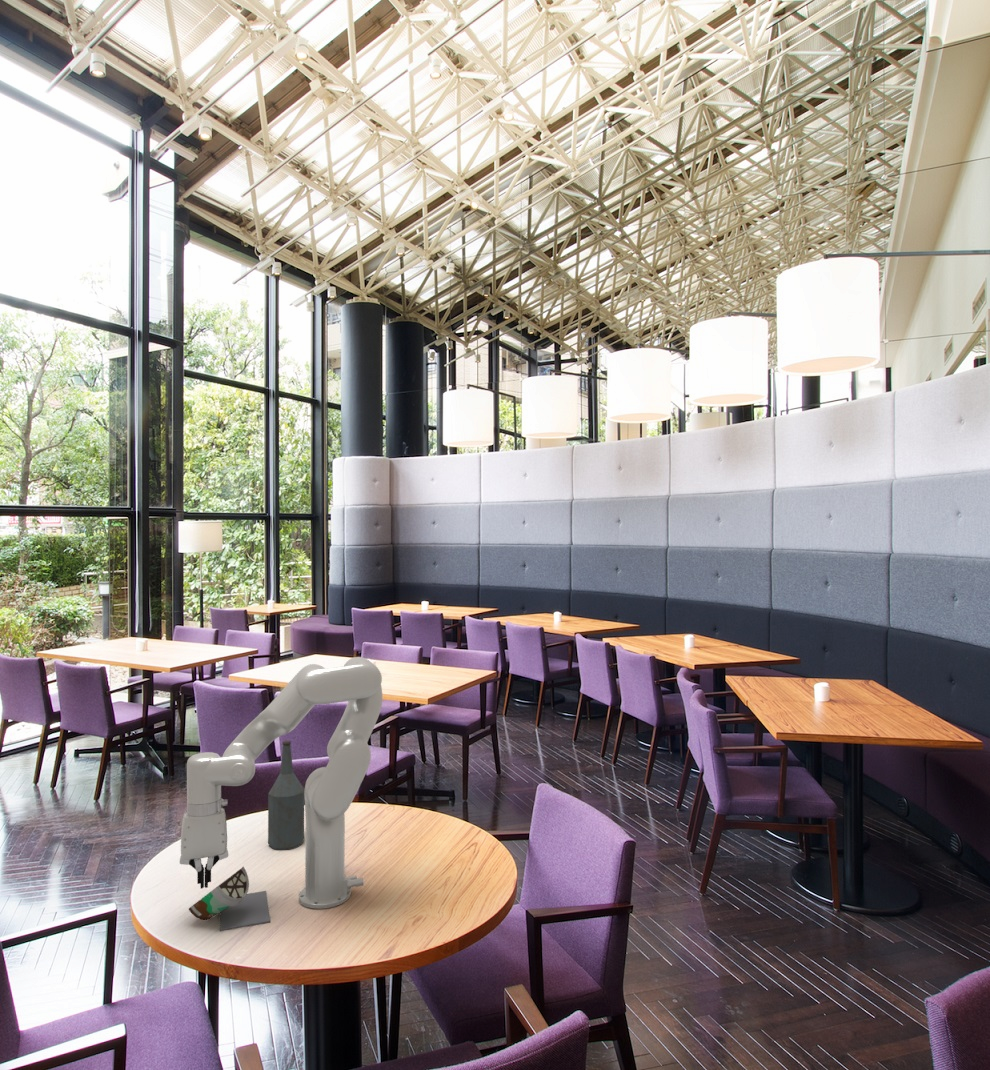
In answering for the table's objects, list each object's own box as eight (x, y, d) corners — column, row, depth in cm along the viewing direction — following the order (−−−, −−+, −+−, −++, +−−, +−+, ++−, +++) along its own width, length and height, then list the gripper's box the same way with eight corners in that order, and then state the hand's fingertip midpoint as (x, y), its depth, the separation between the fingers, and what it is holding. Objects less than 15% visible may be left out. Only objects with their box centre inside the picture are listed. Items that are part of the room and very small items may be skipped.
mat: (266, 892, 185) (266, 890, 185) (270, 922, 170) (270, 920, 170) (219, 899, 181) (219, 898, 181) (219, 931, 166) (219, 929, 166)
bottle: (262, 842, 216) (263, 740, 217) (293, 834, 223) (293, 734, 223) (278, 853, 208) (279, 747, 209) (309, 844, 215) (310, 741, 215)
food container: (199, 935, 165) (232, 910, 164) (184, 911, 166) (217, 886, 165) (227, 910, 178) (258, 887, 177) (213, 889, 178) (244, 865, 178)
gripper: (237, 798, 179) (237, 873, 178) (170, 806, 173) (170, 884, 173) (238, 808, 172) (238, 887, 171) (168, 817, 166) (168, 898, 166)
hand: (204, 885), depth 172 cm, fingers closed
